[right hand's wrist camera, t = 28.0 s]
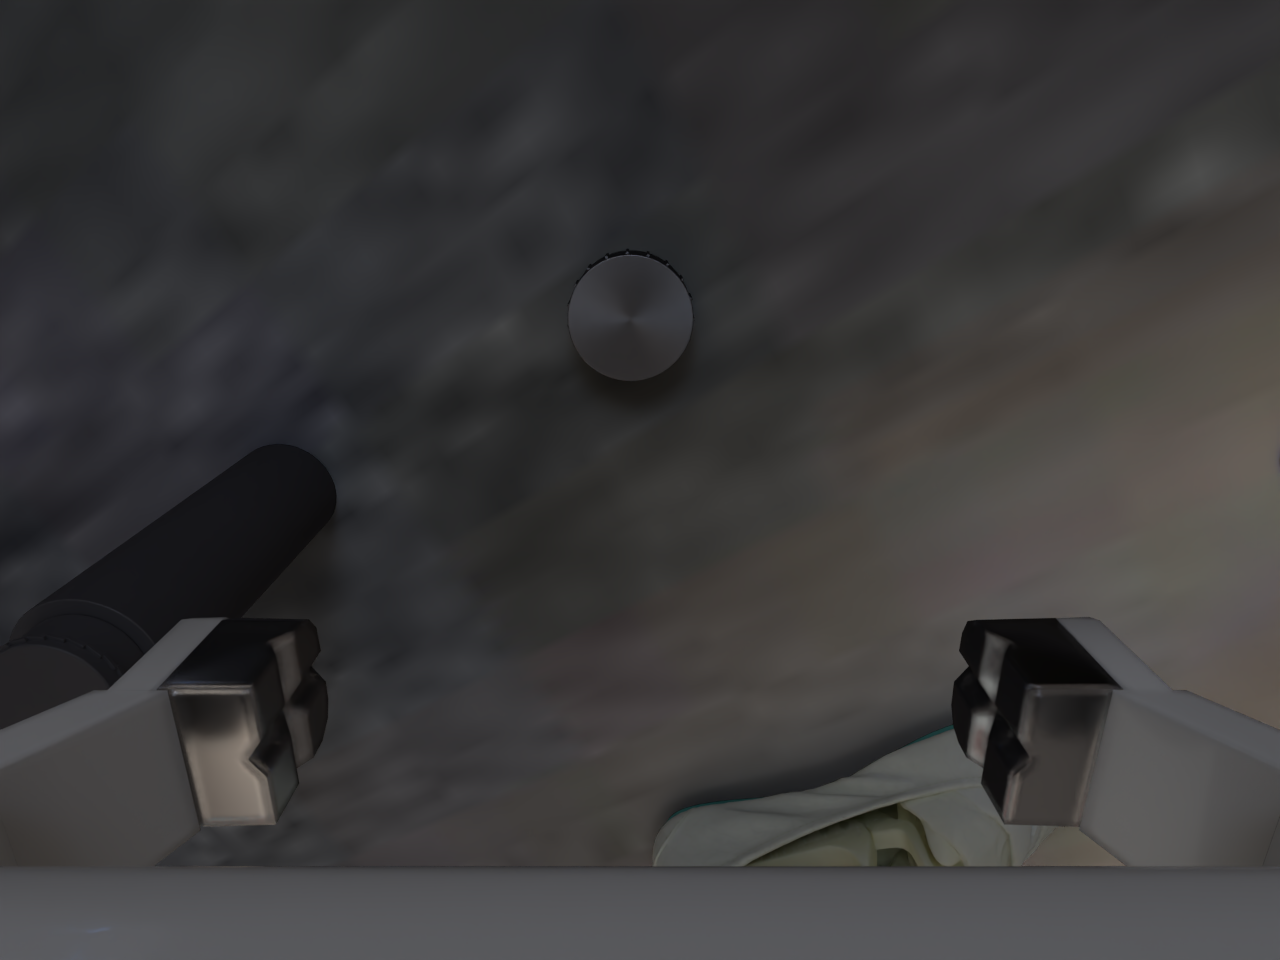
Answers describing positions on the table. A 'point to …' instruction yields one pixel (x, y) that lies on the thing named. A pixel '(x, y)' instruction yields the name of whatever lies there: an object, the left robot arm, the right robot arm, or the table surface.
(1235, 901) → the right robot arm
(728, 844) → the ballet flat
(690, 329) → the lid
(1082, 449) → the table surface
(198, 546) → the black cylinder
